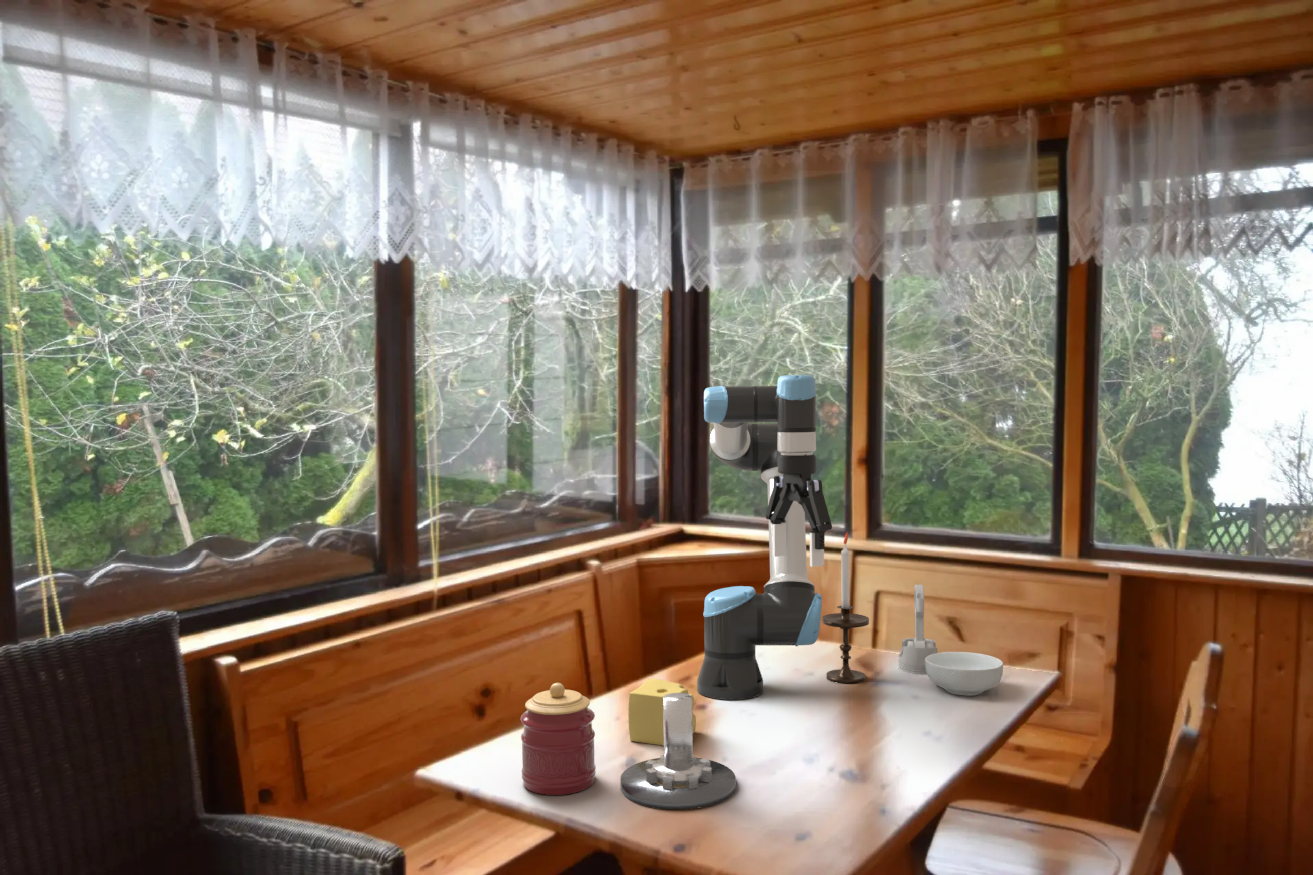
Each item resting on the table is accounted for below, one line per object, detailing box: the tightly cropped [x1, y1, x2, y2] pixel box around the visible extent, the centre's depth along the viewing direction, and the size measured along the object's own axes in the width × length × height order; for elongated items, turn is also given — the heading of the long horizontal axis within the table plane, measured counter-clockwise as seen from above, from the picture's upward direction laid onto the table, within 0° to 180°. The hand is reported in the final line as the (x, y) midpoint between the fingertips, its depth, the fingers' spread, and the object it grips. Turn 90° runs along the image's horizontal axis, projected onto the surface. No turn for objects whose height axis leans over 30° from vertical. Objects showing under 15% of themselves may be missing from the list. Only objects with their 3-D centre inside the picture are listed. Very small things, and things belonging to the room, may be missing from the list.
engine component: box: [898, 584, 939, 675], centre depth 245 cm, size 11×20×10 cm
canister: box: [520, 682, 597, 796], centre depth 176 cm, size 13×13×18 cm
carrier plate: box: [619, 756, 737, 811], centre depth 174 cm, size 20×20×2 cm
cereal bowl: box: [925, 651, 1004, 696], centre depth 227 cm, size 17×17×7 cm
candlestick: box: [821, 531, 870, 685], centre depth 237 cm, size 11×11×35 cm
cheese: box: [628, 678, 697, 747], centre depth 199 cm, size 10×11×10 cm
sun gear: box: [646, 693, 712, 790], centre depth 174 cm, size 12×12×14 cm
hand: (797, 560), depth 198 cm, fingers open, 13 cm apart
